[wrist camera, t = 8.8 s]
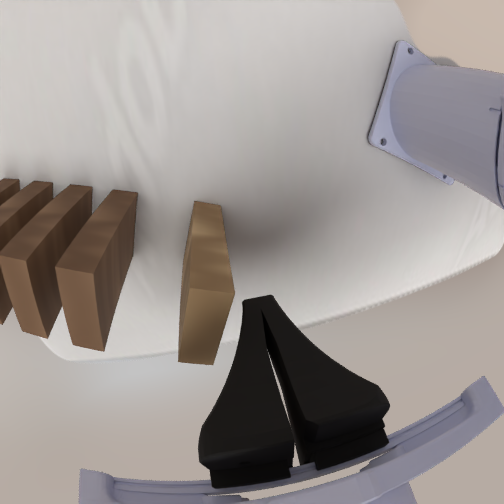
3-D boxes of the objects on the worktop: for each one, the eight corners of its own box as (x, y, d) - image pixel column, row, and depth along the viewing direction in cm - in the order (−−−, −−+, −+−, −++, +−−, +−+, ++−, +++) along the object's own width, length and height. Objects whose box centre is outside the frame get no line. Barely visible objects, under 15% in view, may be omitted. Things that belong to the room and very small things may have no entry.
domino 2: (137, 192, 15) (93, 273, 8) (133, 255, 17) (104, 351, 10) (113, 189, 15) (54, 266, 8) (110, 251, 17) (72, 345, 10)
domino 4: (52, 182, 13) (-23, 249, 7) (55, 242, 16) (2, 324, 9) (34, 180, 13) (-43, 244, 6) (38, 239, 15) (-17, 317, 8)
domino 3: (92, 186, 14) (25, 260, 8) (92, 249, 16) (47, 338, 10) (70, 184, 14) (-3, 254, 7) (72, 245, 16) (22, 331, 9)
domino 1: (220, 205, 16) (235, 293, 10) (206, 265, 18) (213, 365, 12) (194, 200, 16) (189, 287, 9) (183, 262, 18) (178, 362, 11)
